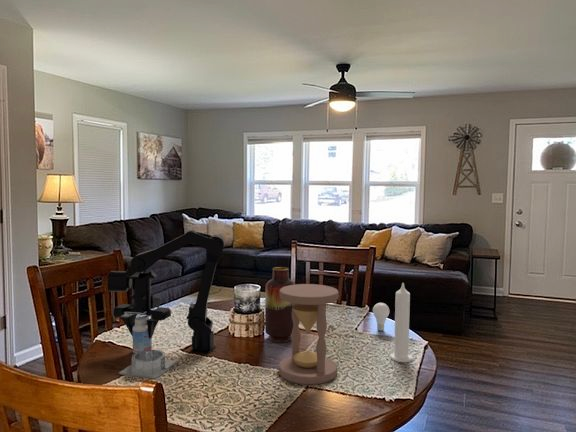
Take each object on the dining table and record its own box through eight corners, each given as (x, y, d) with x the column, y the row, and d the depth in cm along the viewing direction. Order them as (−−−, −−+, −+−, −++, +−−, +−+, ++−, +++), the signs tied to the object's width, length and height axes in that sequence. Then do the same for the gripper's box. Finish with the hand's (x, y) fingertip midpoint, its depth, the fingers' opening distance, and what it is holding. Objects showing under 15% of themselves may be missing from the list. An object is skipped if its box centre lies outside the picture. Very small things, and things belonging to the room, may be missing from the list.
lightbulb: (371, 332, 171) (372, 304, 171) (373, 327, 177) (373, 300, 177) (388, 334, 169) (389, 305, 169) (389, 329, 175) (390, 301, 175)
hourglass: (271, 364, 139) (271, 285, 137) (321, 357, 145) (322, 282, 143) (291, 388, 122) (292, 299, 121) (347, 379, 129) (349, 294, 127)
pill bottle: (148, 354, 146) (147, 321, 145) (129, 354, 146) (129, 321, 146) (154, 348, 152) (153, 315, 151) (136, 347, 152) (136, 315, 152)
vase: (268, 345, 156) (269, 271, 154) (262, 335, 167) (262, 266, 165) (299, 342, 159) (299, 270, 157) (290, 332, 170) (291, 265, 168)
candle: (413, 363, 141) (415, 285, 140) (390, 361, 142) (392, 284, 141) (411, 355, 148) (413, 281, 146) (389, 353, 149) (391, 279, 148)
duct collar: (176, 363, 139) (176, 350, 139) (155, 379, 128) (155, 365, 128) (142, 359, 142) (142, 346, 142) (119, 374, 131) (119, 360, 131)
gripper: (178, 287, 153) (179, 332, 154) (131, 284, 158) (132, 327, 159) (161, 295, 143) (162, 343, 144) (111, 291, 147) (112, 337, 148)
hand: (142, 337), depth 149 cm, fingers closed on pill bottle, 6 cm apart
